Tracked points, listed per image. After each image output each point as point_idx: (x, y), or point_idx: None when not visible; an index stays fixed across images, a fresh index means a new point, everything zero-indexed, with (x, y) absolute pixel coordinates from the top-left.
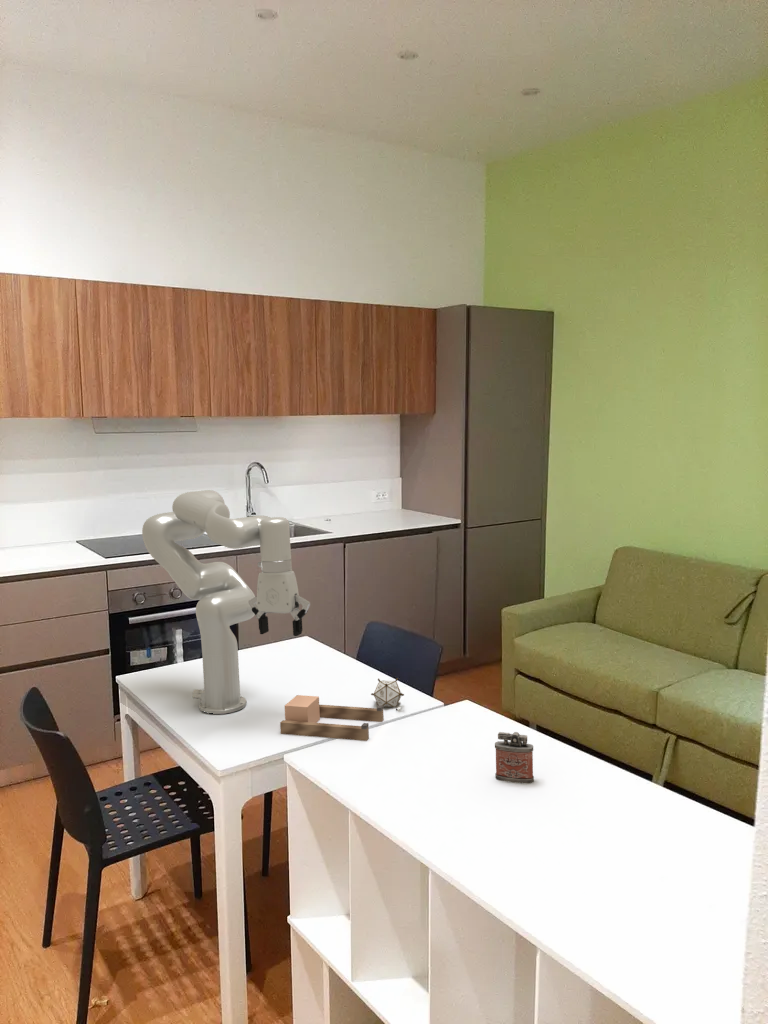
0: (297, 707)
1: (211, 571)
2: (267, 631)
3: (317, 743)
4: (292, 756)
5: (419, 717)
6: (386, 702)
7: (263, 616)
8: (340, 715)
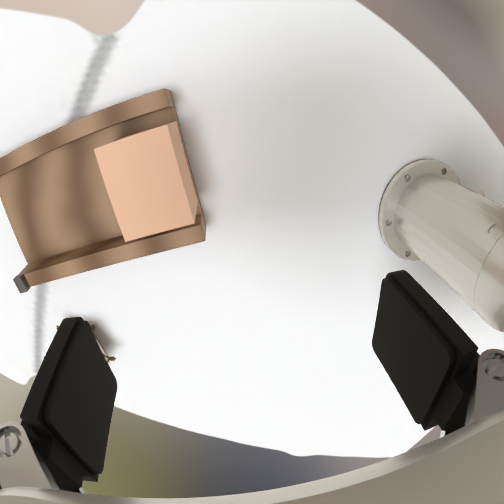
0: (124, 138)
1: None
2: (374, 335)
3: (75, 114)
4: (84, 30)
5: (21, 321)
6: (57, 329)
7: (451, 402)
8: (98, 245)
